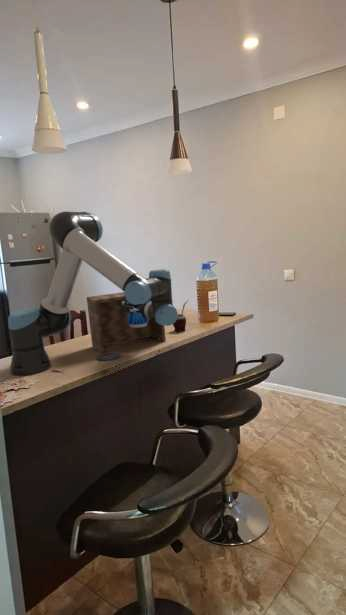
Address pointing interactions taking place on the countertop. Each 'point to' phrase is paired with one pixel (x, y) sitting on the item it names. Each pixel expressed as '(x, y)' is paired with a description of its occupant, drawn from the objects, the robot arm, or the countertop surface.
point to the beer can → (136, 319)
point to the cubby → (116, 322)
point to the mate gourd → (180, 321)
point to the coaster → (108, 356)
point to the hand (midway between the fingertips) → (133, 303)
